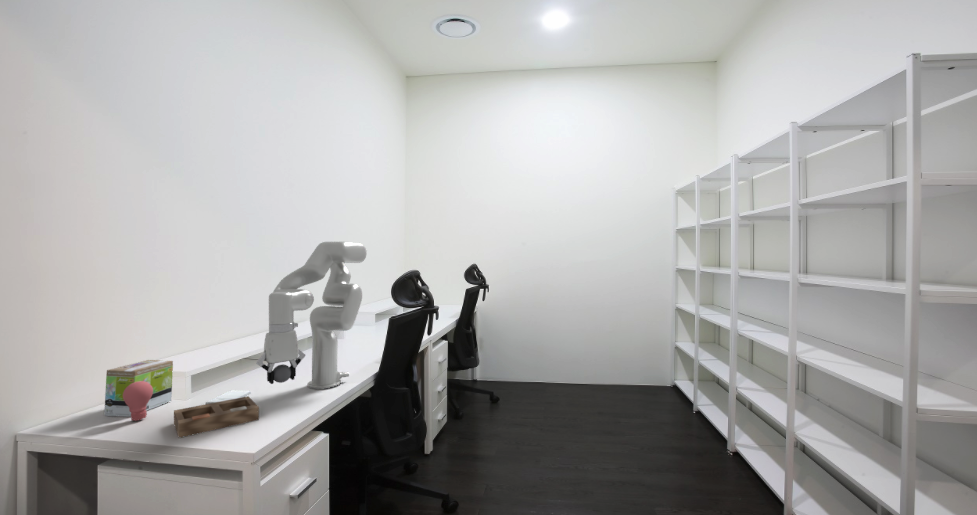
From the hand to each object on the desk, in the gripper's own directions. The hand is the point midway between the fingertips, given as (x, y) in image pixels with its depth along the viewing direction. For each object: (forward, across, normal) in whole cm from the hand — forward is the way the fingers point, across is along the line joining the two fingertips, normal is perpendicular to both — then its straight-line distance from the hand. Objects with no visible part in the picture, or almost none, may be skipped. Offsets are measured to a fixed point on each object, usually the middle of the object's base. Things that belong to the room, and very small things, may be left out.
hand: (281, 380), depth 139 cm
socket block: (+9, +19, +1) cm, 21 cm away
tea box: (+9, +36, -29) cm, 47 cm away
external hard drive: (+10, +12, -21) cm, 26 cm away
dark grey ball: (-2, 0, 0) cm, 2 cm away
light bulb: (+9, +37, -16) cm, 41 cm away
